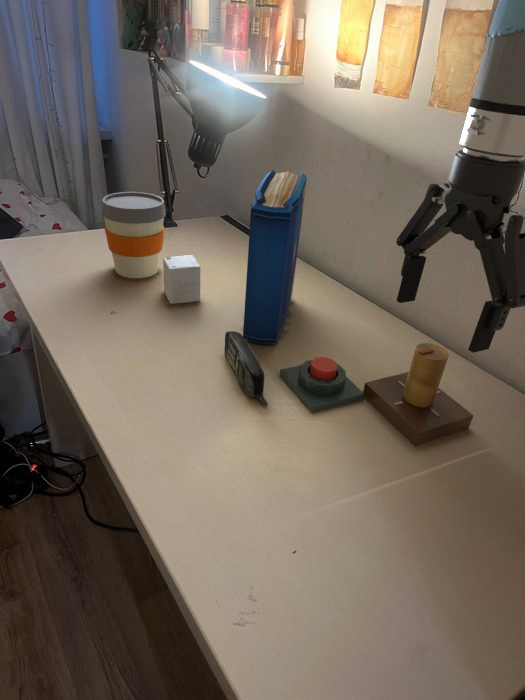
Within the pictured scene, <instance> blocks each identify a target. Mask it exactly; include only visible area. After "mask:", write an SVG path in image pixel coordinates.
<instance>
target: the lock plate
mask: <svg viewBox="0 0 525 700" xmlns="http://www.w3.org/2000/svg"><path fill="white" fill-rule="evenodd" d="M408 373H409V371H407V372H403V373H398V374H395V375H390V376H386V377H382V378H378V379H374V380H370V381H365V382H364V385H363V390H362V392H363V393H364V398H363V399H365V400H366V401H367V402H368V403H369V404H370V405H371V406H372V407H373V408H374V409H375V410H376V411H377V412H378V413H379V414H380V415H382V416H383V417H384V419H386V420H387V421H388V422H389V423H390V424H391V425H392V426H393V427H394V428H395V429H396V430H397V431H398V432H399V433H400V434H401V435H402V436H403V437H404V438H405V439H406V440H407V441H408V442H410V444H411V445H412V446H413V447H418V446H421V445H424V444H427V443H430V442H433V441H436V440H440V439H442V438H445V437H448V436H452V435H455V434H457V433H461V432H463V431H468V430H469V429H470V426H471V423H472V421H473V418H474V414H472V413H471V412H470V411H469V410H467V408H465V407H463V406H462V405H461V404H460V403H459V402H457V401H456V400H455V399H453V398H452V397H451V396H450V395H449V394H447V393H446V392H445V391H443V390H442V389H441V388H440V387H438V390H437V393H436V396H435V399H434V402H433V404H432V405H431V406H429V407H416V406H413V405H411V404H409V403H408V402H406V401H405V399H404V398H403V390H404V387H405V383H406V380H407V376H408Z"/></svg>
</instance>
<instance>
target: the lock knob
mask: <svg viewBox="0 0 525 700" xmlns="http://www.w3.org/2000/svg"><path fill="white" fill-rule="evenodd" d="M449 357H450V355H449V352H448V351H447V350H446V349H445V348H444V347H442V346H440V345H438V344H435V343H429V342H422V343H419V344H417V345H416V346H415V348H414V352H413V356H412V359H411V363H410V366H409V370H408V372H409V373H408V376H407V380H406V383H405V387H404V390H403V398H404V399H405V401H406V402H408V403H409V404H411V405H413V406H416V407H429V406H431V405H432V404H433V402H434V399H435V396H436V393H437V390H438V388H440V383H441V380H442V377H443V374H444V371H445V368H446V365H447V363H448V359H449Z"/></svg>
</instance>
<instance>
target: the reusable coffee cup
mask: <svg viewBox="0 0 525 700" xmlns="http://www.w3.org/2000/svg"><path fill="white" fill-rule="evenodd" d="M101 202H102V203H101V205H102V206H101V215H102V217H103V218H104V222H105V225H104V233H105V237H106V241H107V247H108V250H109V251H110V252H111V255H112V260H113V263H114V269H115V273H117V274H118V276H120V277H124V278H128V279H145V278H150V277H152V276H154V275H156V274H157V273H158V271H159V267H160V257H161V252H162V250H163V247H164V238H165V229H166V228H165V226H164V221H165V217H166V215H167V213H166V206H165V199H164V198H163V197H161V196H159V195H157V194H153V193H148V192H143V191H142V192H141V191H123V192H120V191H119V192H114V193H109V194H107V195H104V197H102V199H101Z"/></svg>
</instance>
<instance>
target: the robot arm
mask: <svg viewBox="0 0 525 700" xmlns="http://www.w3.org/2000/svg"><path fill="white" fill-rule="evenodd" d="M486 33H487V34H486V42H485V44H484V45H485V46H484V49H483V54H482V57H481V61H480V65H479V67H478V68H479V69H478V72H477V76H476V81H475V84H474V88H473V93H472V95H471V99H470V103H469V106H468V108H467V112H466V116H465V120H464V123H463V127H462V131H461V134H460V138H459V141H458V143H459V144H458V145H460V146H461V148H463V149H460V150H458V151H457V152H456V153H455V155H454V157H453V161H452V165H451V169H450V172H449V176H448V182H445V183H444V182H440V183H430V184H429V185H428V187H427V190H426V192H425V196H424V199H423V201H422V202H421V203H420V205H419V207H418V208H417V209H416V211H415V212H414V213H413V215H412V216H411V218H410V219H409V221H408V222H407V223H406V225H405V226H404V228H403V230H402V231H401V232H400V234H399V235H398V237H397V238H396V241H395V242H396V245H397V246H398V247H401V248H402V249H403V254H404V258H403V262H402V266H401V271H400V276H401V281H400V285H399V288H398V293H397V297H396V302H398V304H403V303H404V304H405V303H409V302H415V300H416V297H417V294H418V290H419V287H420V283H421V279H422V276H423V272H424V269H425V265H426V262H427V257H426V256H425V255H424V254H427V252H426V251H427V250H428V249H430V248H431V247H432V246H433V245H435V244H436V243H438V242H439V241H441V239H443V238H444V237H445V236H447V235H448V234H449V233H453V234H455V235H461V236H462V237H463V238H464V239H466V240H468V241H470V242H472V241H473V244H474V247H475V248H476V250H478V251H479V255H480V258H481V262H482V266H483V268H484V274H485V277H486V281H487V286H488V288H489V293H490V297H491V300H486V301H485V302H484V304H483V307H482V309H481V312H480V315H479V319H478V321H477V323H476V326H475V330H474V332H473V335H472V338H471V340H470V343H469V346H468V349H467V350H468V351H469V352H471V353H472V354H474V353H478V352H482V351H486V350H489V349H490V347H491V344H492V342H493V340H494V336H495V333H496V332H497V331H500V330H502V329H503V328H504V326H505V323H506V322H507V318H508V316H509V313H510V312H511V309H516V308H523V307H525V213H522V214H519V213H515V212H511V202H512V200H513V199H514V197H515V196H516V195H517V193H518V192H519V189H520V186H521V184H522V181H523V178H524V175H525V160H524V159H525V0H498V3H497V6H496V9H495V12H494V15H493V18H492V21H491V24H490V27H489V29H488V32H486ZM444 205H445V210H446V211H445V212H443V213H442V214H440V215H439V216H438V217H437V218H436V216H437V215H438V213H439V212H440V211H441V210H442V208H443V207H444ZM435 218H436V219H435ZM433 220H434V222H433V223H432V221H433ZM431 223H432V224H431ZM504 232H505V234H504ZM489 237H490V238H489Z"/></svg>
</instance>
